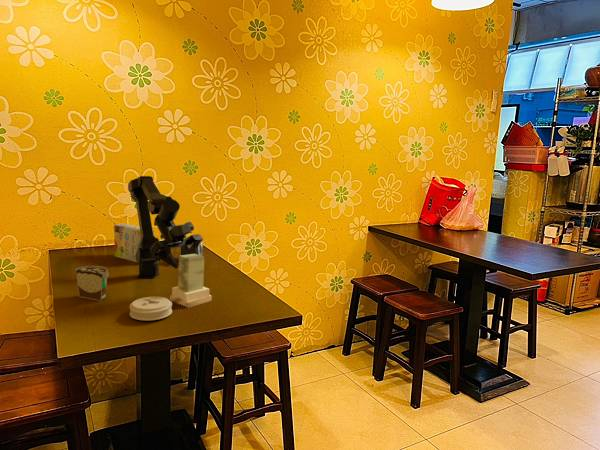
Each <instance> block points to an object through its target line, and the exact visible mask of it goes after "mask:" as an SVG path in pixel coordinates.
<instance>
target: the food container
mask: <svg viewBox="0 0 600 450" xmlns="http://www.w3.org/2000/svg"><path fill="white" fill-rule="evenodd" d="M74 275H76V282H77V291H78V298H84V299H88V300H94V301H97V302H102V301H104V300H105V299H106V295H107V281H108V277H109V276H110V273H109V270H108V268H107V267H105V266H102V265H100V266H99V265H86V266H79V267H75V270H74Z"/></svg>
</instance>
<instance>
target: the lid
mask: <svg viewBox="0 0 600 450" xmlns="http://www.w3.org/2000/svg"><path fill="white" fill-rule="evenodd" d="M172 307H173V302H172V301H170V299H168V298H167V297H163V296H155V295H154V296H153V295H151V296H144V297H141V298H137V299H135V300H134V301H132V302H131V303H130V304H129V310H130V311H129V316H130V317H131V318H132V319H135V320H139V321H156V320H160V319H161V320H162V319H165V318H166V317H169V316H170V315H172V314H173V309H172Z"/></svg>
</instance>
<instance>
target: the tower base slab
mask: <svg viewBox="0 0 600 450" xmlns="http://www.w3.org/2000/svg"><path fill="white" fill-rule="evenodd" d="M212 299H213V296H212V295H211V294H210V295H209V296H207V297H203V298H199V299H195V300H191V301H187V302H186V301H184V300H182V299H180V298H178V297H176V296H174V295H172V294H170V295H169V300H171V302H172V301H174V302H173V303H175V302H176V303H175V304H177V303H178V305H180V304H181V305H180V306H182V305H183V306H182V307H184V306H185V307H184V308H187V309H189V307H190V308H192V307H195V306H199V305H201V304H205V303H208V302H211V301H212Z"/></svg>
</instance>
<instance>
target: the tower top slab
mask: <svg viewBox="0 0 600 450" xmlns="http://www.w3.org/2000/svg"><path fill="white" fill-rule="evenodd" d="M171 295H174V296H176V297H178V298H180V299H182V300H184V301H186V302H187V301H191V300H195V299H199V298H203V297H207V296H209V295H211V293H210V288H208V287H206V286H204V285H203V289H198V290H193V291H186V290H184V289H181V288H179V287H178V286H173V287H171Z"/></svg>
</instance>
